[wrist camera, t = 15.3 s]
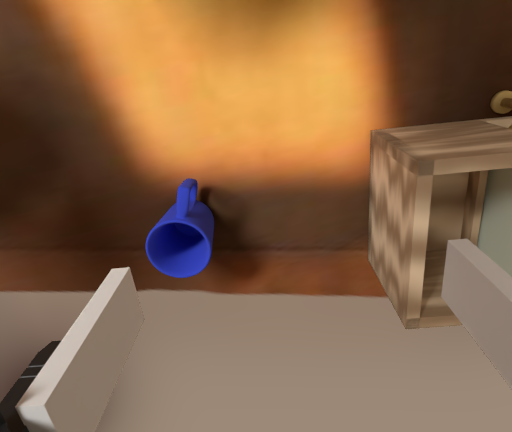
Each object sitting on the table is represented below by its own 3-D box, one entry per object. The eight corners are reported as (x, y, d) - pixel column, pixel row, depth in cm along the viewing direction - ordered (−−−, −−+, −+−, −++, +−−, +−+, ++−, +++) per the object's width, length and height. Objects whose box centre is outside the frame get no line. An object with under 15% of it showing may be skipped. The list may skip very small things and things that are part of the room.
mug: (225, 170, 51) (217, 195, 42) (216, 245, 56) (208, 282, 47) (167, 162, 51) (146, 185, 42) (163, 238, 56) (144, 274, 47)
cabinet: (371, 104, 48) (421, 124, 33) (537, 86, 47) (665, 100, 32) (368, 259, 57) (405, 329, 42) (506, 247, 56) (594, 315, 41)
